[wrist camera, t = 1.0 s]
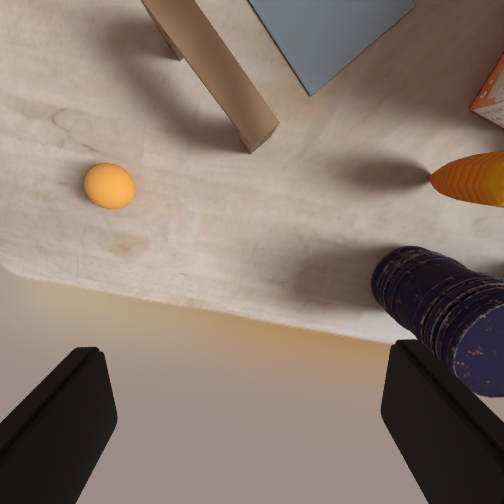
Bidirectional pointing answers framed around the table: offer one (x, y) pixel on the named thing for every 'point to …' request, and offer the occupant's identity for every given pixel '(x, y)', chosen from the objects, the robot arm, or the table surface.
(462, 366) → the dark blue cylinder
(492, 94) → the cracker box
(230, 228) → the table surface
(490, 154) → the carrot
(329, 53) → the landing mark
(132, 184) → the ball
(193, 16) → the bridge
